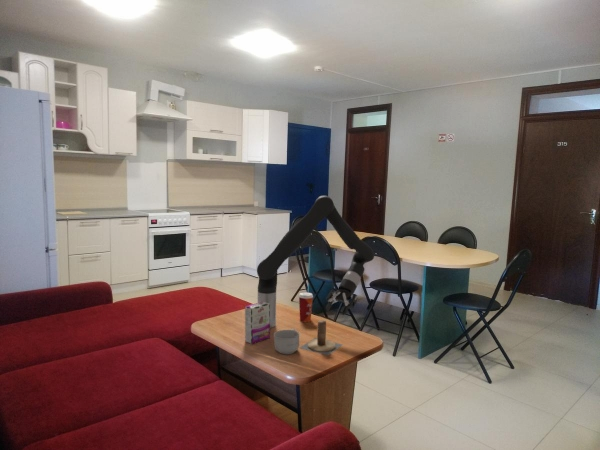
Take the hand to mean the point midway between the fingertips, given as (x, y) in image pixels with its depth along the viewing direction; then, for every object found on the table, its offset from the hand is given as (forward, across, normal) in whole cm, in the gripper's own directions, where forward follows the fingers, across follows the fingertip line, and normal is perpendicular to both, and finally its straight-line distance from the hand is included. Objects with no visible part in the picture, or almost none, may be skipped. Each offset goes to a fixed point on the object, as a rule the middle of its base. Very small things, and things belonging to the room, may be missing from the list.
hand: (334, 312), depth 180 cm
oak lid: (+16, 0, +3) cm, 16 cm away
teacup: (+25, -8, -6) cm, 27 cm away
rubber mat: (+16, 0, +3) cm, 16 cm away
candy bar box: (+26, -26, -6) cm, 37 cm away
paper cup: (0, -28, +19) cm, 34 cm away
